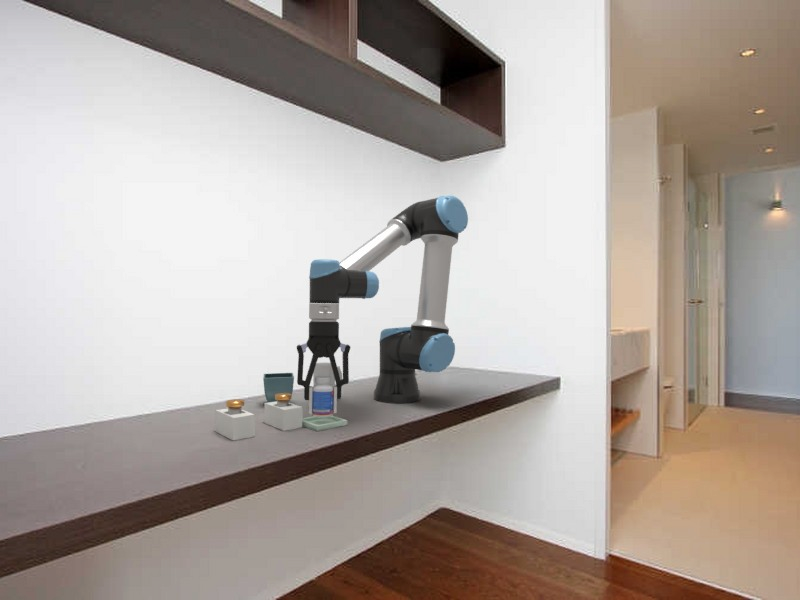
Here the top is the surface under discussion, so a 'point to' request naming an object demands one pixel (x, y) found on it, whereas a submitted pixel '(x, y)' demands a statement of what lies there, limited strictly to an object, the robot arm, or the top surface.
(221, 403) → the top surface
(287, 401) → the plunger
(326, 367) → the mug
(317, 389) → the pill bottle
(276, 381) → the flower pot
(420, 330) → the robot arm
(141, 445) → the top surface
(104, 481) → the top surface
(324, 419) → the tray
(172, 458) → the top surface
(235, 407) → the plunger
